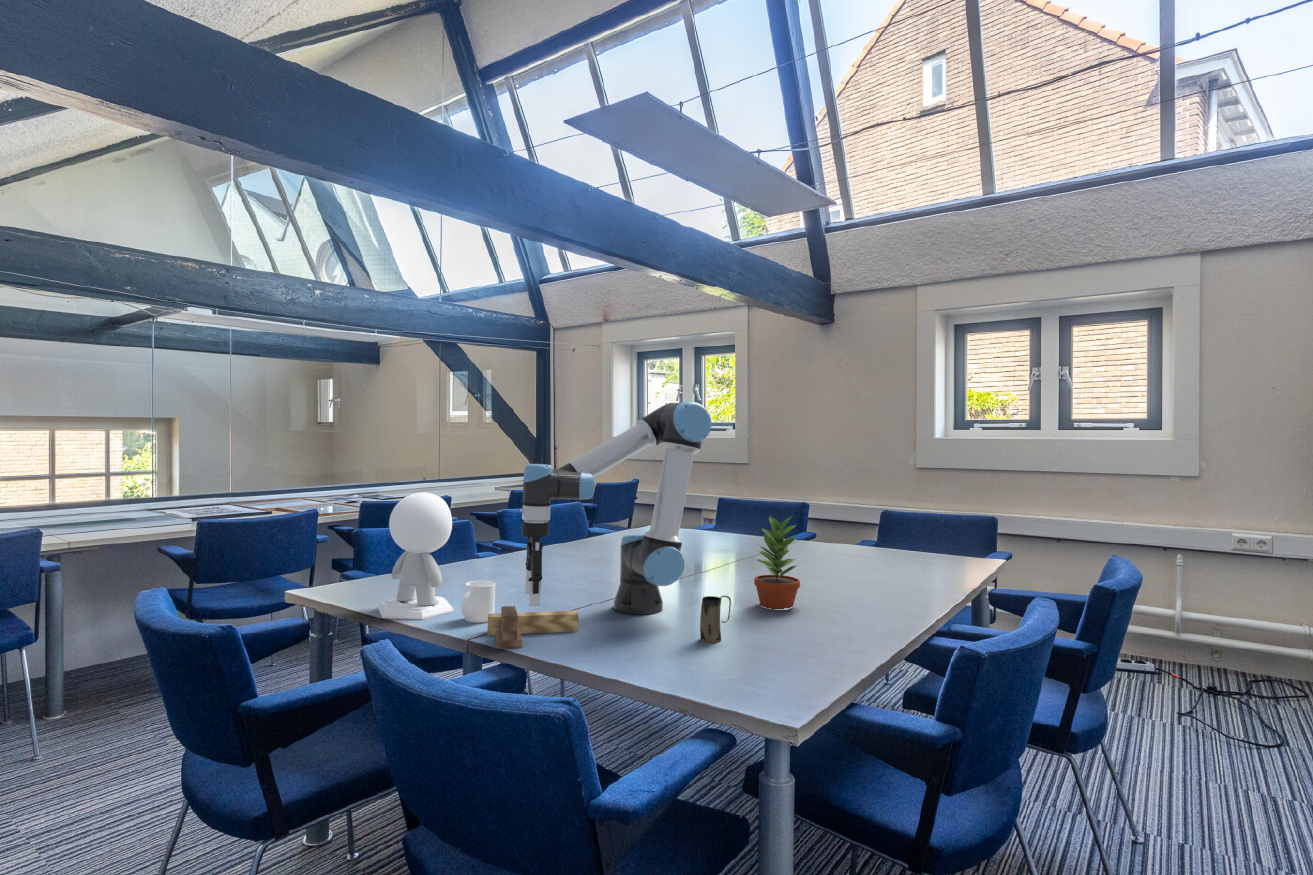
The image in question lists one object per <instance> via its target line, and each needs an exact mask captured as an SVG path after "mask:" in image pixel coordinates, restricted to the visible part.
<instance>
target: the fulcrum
mask: <svg viewBox="0 0 1313 875" xmlns="http://www.w3.org/2000/svg"><path fill="white" fill-rule="evenodd" d="M500 610H501V612H500V613H501V629H498V630H496V635H495V642H496V647H497V649H498V650H500V649H501V650H502V649H519V648H523V638H522V634H521V633H520V629H517V623H518V615H517V613H518V612H517V609H516V606H515V605H509V606H508V605H505V606H501V608H500Z"/></svg>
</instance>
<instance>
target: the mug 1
mask: <svg viewBox="0 0 1313 875" xmlns="http://www.w3.org/2000/svg"><path fill="white" fill-rule="evenodd" d="M464 586H465V587H464V588H465V590H464V592H465V593H464V595H463V598H462V601H461V608H460V609H461V614H462V615H463V617H464V620H465V621H466V622H468V623H471V624H472V623H473V624H481V623H483V624H484V623H488V614H495V612H496V611H495V610H496V609H495V608H496V607H495V606H496V605H495V604H496V583H495V581H492V580H472V581H468V582H466V583H465V584H464Z"/></svg>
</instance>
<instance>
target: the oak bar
mask: <svg viewBox="0 0 1313 875" xmlns="http://www.w3.org/2000/svg"><path fill="white" fill-rule="evenodd" d="M517 615H518V623H517V629H520V633H521V635H522V634H545V633H561V632H562V633H565V632H568V633H570V632H578V631H579V612H578V611H577V610H559V611H535V612H534V611H531V612H530V611H529V612H517ZM498 629H501V612H499V613H498V612H497V613H494V614H488V622H487V636H496V630H498Z"/></svg>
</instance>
